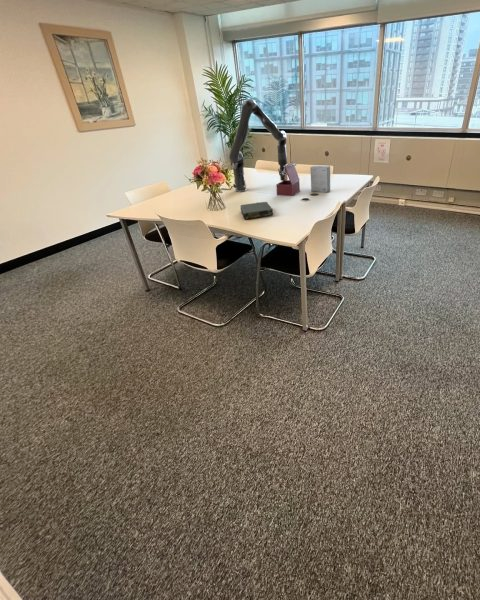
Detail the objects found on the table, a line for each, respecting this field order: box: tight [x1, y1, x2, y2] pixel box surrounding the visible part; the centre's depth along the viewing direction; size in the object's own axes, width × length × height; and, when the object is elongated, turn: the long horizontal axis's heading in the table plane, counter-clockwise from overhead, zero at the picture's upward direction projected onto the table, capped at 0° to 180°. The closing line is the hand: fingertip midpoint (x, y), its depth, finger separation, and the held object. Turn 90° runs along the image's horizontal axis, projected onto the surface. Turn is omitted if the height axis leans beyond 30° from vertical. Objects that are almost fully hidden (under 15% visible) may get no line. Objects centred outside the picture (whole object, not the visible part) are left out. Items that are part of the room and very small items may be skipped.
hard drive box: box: [310, 165, 331, 193], centre depth 270 cm, size 16×8×20 cm, turn 65°
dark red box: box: [275, 179, 301, 197], centre depth 273 cm, size 15×16×9 cm
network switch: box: [240, 201, 274, 221], centre depth 233 cm, size 23×24×5 cm
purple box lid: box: [284, 161, 300, 185], centre depth 263 cm, size 15×16×6 cm
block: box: [279, 174, 289, 182], centre depth 269 cm, size 5×5×5 cm
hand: (284, 179), depth 270 cm, fingers closed on block, 4 cm apart
